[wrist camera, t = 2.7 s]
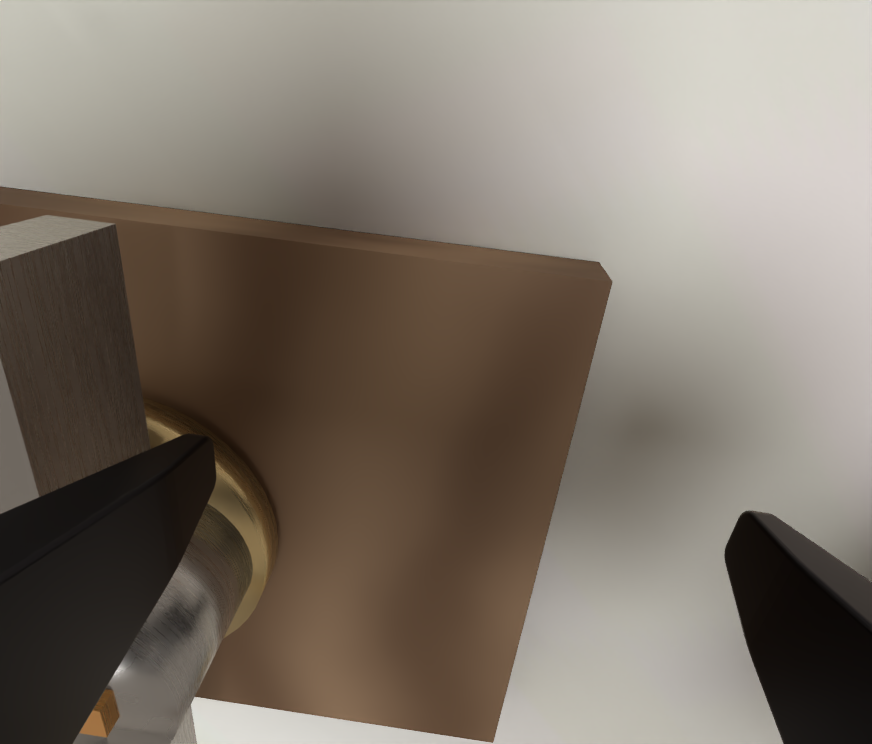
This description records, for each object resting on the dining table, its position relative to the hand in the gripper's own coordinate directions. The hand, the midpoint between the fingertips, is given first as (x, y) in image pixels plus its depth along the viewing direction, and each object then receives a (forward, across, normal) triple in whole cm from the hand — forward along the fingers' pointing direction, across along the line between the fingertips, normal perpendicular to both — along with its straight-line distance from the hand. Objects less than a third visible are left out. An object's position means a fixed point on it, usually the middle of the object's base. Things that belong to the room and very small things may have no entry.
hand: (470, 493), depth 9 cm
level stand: (+5, +6, +5) cm, 9 cm away
